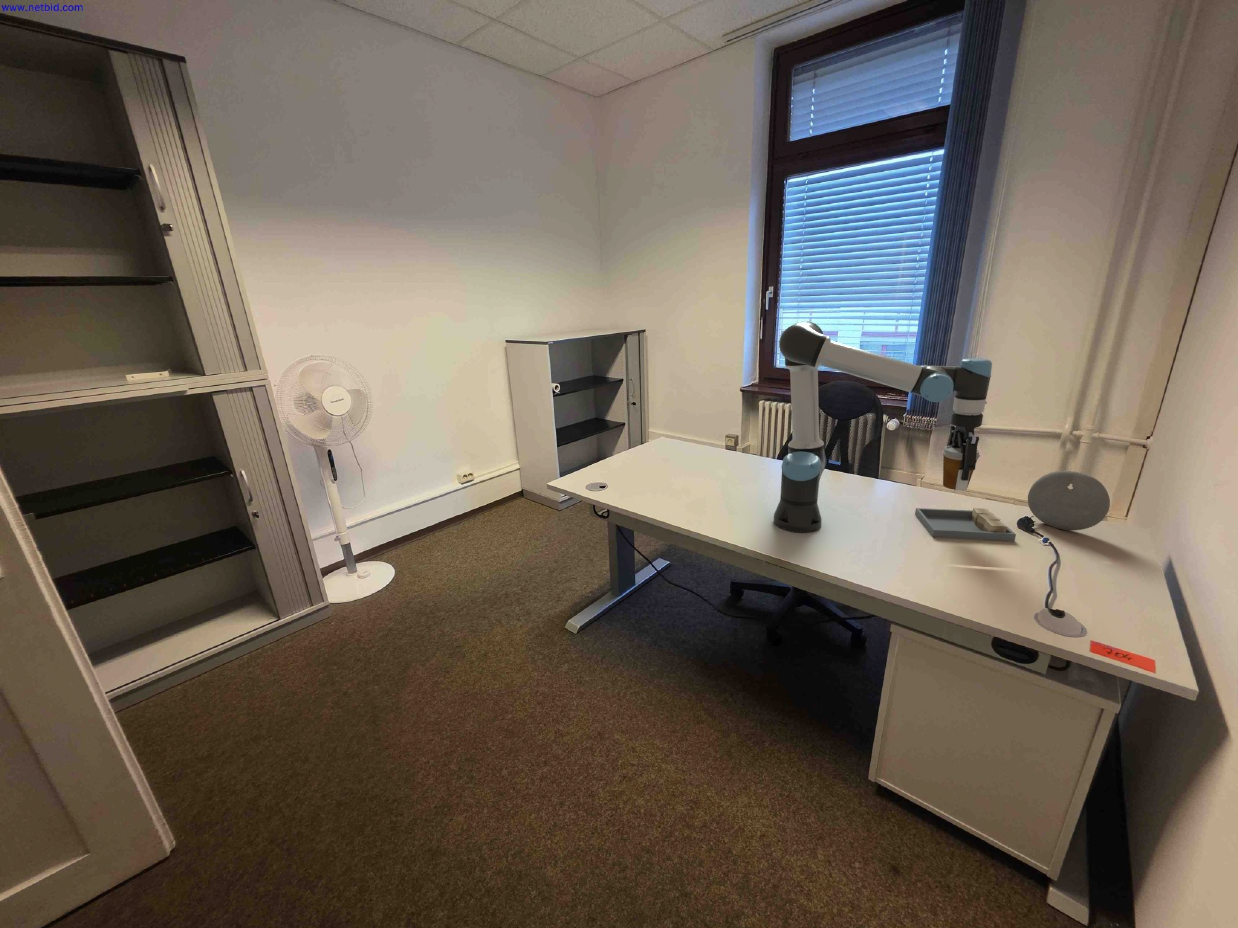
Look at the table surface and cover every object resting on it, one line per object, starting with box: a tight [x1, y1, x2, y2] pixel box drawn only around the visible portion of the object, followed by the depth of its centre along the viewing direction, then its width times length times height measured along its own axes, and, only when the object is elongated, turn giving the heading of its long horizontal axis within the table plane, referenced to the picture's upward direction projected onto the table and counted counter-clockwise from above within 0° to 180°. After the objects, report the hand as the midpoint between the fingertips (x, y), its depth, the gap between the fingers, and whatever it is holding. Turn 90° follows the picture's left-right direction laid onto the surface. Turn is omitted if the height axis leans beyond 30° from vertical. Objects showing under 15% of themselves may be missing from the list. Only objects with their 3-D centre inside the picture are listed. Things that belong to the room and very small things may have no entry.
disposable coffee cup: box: [941, 445, 981, 491], centre depth 149 cm, size 10×10×12 cm
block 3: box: [983, 520, 1008, 533], centre depth 148 cm, size 4×4×4 cm
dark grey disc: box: [1027, 470, 1111, 531], centre depth 149 cm, size 18×7×19 cm, turn 44°
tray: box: [914, 507, 1017, 543], centre depth 154 cm, size 22×17×3 cm
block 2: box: [976, 513, 1001, 530], centre depth 152 cm, size 4×4×4 cm
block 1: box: [971, 507, 993, 524], centre depth 157 cm, size 4×4×4 cm
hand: (955, 484), depth 151 cm, fingers closed on disposable coffee cup, 8 cm apart
